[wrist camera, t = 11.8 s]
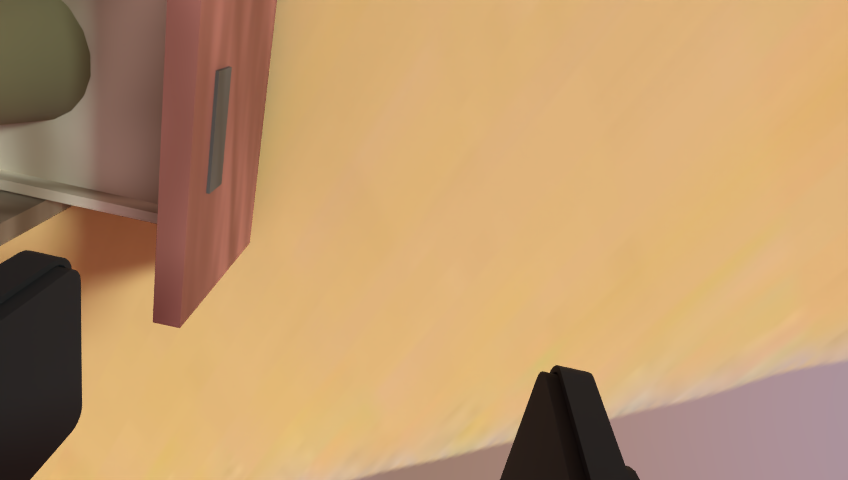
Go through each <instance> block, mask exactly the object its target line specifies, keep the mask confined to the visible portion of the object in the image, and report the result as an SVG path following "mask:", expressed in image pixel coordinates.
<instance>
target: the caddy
mask: <svg viewBox="0 0 848 480" xmlns="http://www.w3.org/2000/svg"><path fill="white" fill-rule="evenodd" d="M71 206H73V205H69V204H64V203H60V202H55V201H51V200H46V199H41V198H37V197H32V196H28V195H23V194H19V193H14V192H10V191H5V190H0V246H1V245H3V244H4V243H6V242H8V241H10V240H12V239H13V238H15V237H17V236H19V235H21V234H22V233H24V232H26V231H28V230H30V229H31V228H33V227H35V226H37V225H39V224H40V223H42V222H44V221H46V220H48V219H49V218H51V217H53V216H55V215H57V214H58V213H60V212H62V211H64V210H66V209H67V208H69V207H71Z"/></svg>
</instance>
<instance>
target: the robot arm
mask: <svg viewBox="0 0 848 480" xmlns="http://www.w3.org/2000/svg"><path fill="white" fill-rule="evenodd" d="M81 410H82V364H81V280H80V275H79V273H78V272H77V271H76V270H73V269H72V268H71V264H70V262H69V261H68V260H67V259H65V258H62V257H57V256H52V255H48V254H43V253H39V252H34V251H27V250H25V251H22V252H20V253H18V254H16V255H14V256H13V257H11V258H9V259H8V260H6V261H4V262H3V263H1V264H0V480H30V479H31V478H32V477H33V476H34V475H35V473H36V472H37V471H38V470H39V469H40V468H41V467H42V465H43V464H44V463H45V462H46V461H47V460H48V459H49V457H50V456H51V455H52V454H53V453H54V452H55V451H56V449H57V448H58V447H59V446H60V445H61V444H62V442H63V441H64V440H65V439H66V438H67V437H68V436H69V434H70V433H71V432H72V431H73V429H74V428H75V426H76V424H77V423H78V420H79V418H80V414H81ZM500 480H640V479H639V478H638V476H637V474H636V472H635V471H634V470H633V469H632V468H630V467H629V466H625V464H624V461H623V458H622V455H621V452H620V450H619V447H618V444H617V442H616V439H615V436H614V433H613V431H612V427H611V425H610V422H609V419H608V416H607V413H606V411H605V408H604V405H603V402H602V400H601V397H600V394H599V391H598V388H597V386H596V383H595V380H594V377H593V376H592V374H591V373H589V372H585V371H581V370H576V369H572V368H567V367H562V366H558V365H556V366H554V367H553V368H552V370H551V371H550V373H547V372H543V371H542V372H540V374H539V375H538V377H537V379H536V382H535V385H534V388H533V390H532V393H531V396H530V399H529V401H528V404H527V407H526V410H525V412H524V415H523V418H522V421H521V423H520V426H519V429H518V432H517V435H516V437H515V440H514V443H513V446H512V448H511V451H510V454H509V457H508V459H507V462H506V465H505V468H504V470H503V473H502V476H501V479H500Z"/></svg>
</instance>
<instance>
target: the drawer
mask: <svg viewBox="0 0 848 480" xmlns="http://www.w3.org/2000/svg"><path fill="white" fill-rule="evenodd" d="M62 1H63V2H64V3H65V4H66V5H67V6H68V7H69V8H70V10H71V11H72V13H73V15H74V16H75V18H76V20H77V21H78V23H79V25H80V26H81V28H82V29H83V32H84V35H85V38H86V41H87V45H88V48H89V51H90V73H91V77H90V80H89V83H88V86H87V89H86V92H85V95H84V97H83V98H82V99H81V100H80V101H79V103H78V104H77V105H76V106H75V107H74V108H73V109H72V111H70V112H68V113H66V114H64V115H62V116H60V117H58V118H56V119H52V120H43V121H33V122H24V123H14V124H5V125H0V190H5V191H10V192H14V193H19V194H23V195H28V196H32V197H37V198H41V199H46V200H51V201H55V202H60V203H64V204H69V205H73V206H78V207H83V208H87V209H92V210H96V211H101V212H105V213H110V214H115V215H119V216H124V217H128V218H133V219H137V220H142V221H147V222H151V223H156V224H157V239H156V262H155V285H154V308H153V322H154V323H159V324H163V325H168V326H173V327H178V328H180V327H181V326H182V325H183V324H184V322H185V321H186V320H187V319H188V318H189V316H190V315H191V314H192V313H193V311H194V310H195V309H196V308H197V307H198V305H199V304H200V303H201V302H202V300H203V299H204V298H205V297H206V296H207V294H208V293H209V292H210V291H211V289H212V288H213V287H214V286H215V285H216V283H217V282H218V281H219V280H220V278H221V277H222V276H223V275H224V274H225V272H226V271H227V270H228V269H229V267H230V266H231V265H232V264H233V263H234V261H235V260H236V259H237V258H238V257H239V255H240V254H241V253H242V252H243V250H244V249H245V248H246V247H247V246H248V244H249V243H250V235H251V226H252V217H253V208H254V199H255V191H256V182H257V173H258V164H259V155H260V146H261V137H262V128H263V119H264V110H265V101H266V93H267V84H268V75H269V66H270V57H271V48H272V39H273V30H274V21H275V12H276V3H277V0H62Z"/></svg>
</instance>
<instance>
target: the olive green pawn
mask: <svg viewBox="0 0 848 480" xmlns="http://www.w3.org/2000/svg"><path fill="white" fill-rule="evenodd" d="M90 77H91V73H90V51H89V48H88V45H87V41H86V38H85V35H84V32H83V29H82V28H81V26H80V25H79V23H78V21H77V20H76V18H75V16H74V15H73V13H72V11H71V10H70V8H69V7H68V6H67V5H66V4H65V3H64V2H63V1H62V0H0V125H5V124H14V123H24V122H33V121H43V120H52V119H56V118H58V117H60V116H62V115H64V114H66V113H68V112H70V111H72V109H73V108H74V107H75V106H76V105H77V104H78V103H79V101H80V100H81V99H82V98H83V97H84V95H85V92H86V89H87V86H88V83H89V80H90Z"/></svg>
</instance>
